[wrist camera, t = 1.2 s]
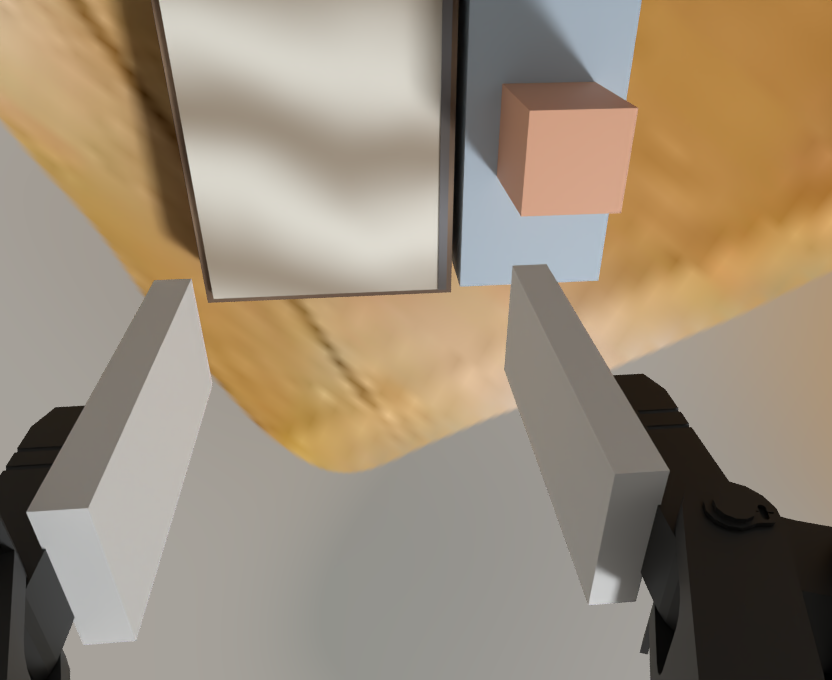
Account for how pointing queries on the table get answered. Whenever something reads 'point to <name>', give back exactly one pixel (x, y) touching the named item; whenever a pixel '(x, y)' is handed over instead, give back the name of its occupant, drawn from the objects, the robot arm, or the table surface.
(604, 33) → the blue base with cube
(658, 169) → the table surface
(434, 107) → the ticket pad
